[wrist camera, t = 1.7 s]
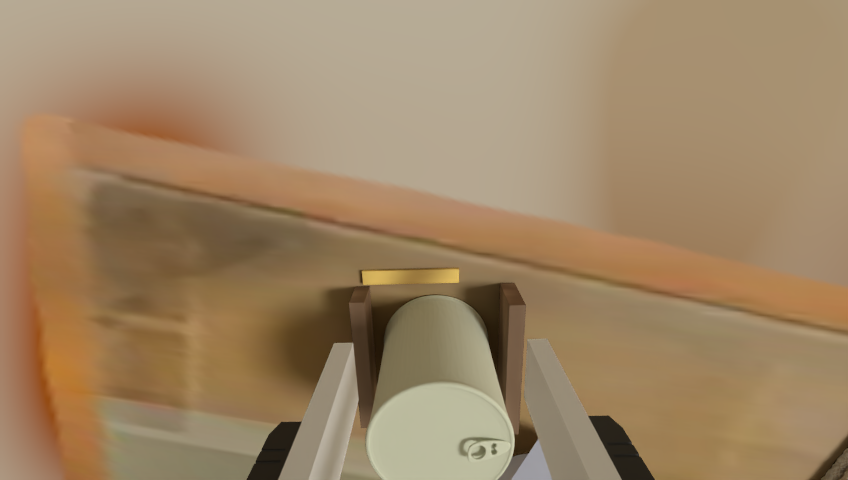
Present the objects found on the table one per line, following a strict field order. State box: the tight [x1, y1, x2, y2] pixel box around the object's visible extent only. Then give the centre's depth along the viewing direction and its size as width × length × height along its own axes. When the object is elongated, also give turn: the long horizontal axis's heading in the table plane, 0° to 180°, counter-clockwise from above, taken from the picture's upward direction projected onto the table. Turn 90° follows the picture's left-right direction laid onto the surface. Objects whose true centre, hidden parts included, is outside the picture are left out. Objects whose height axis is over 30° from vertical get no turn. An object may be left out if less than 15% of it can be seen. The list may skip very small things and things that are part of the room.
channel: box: [349, 268, 526, 434], centre depth 33 cm, size 13×14×4 cm
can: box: [365, 295, 515, 480], centre depth 29 cm, size 9×9×12 cm
